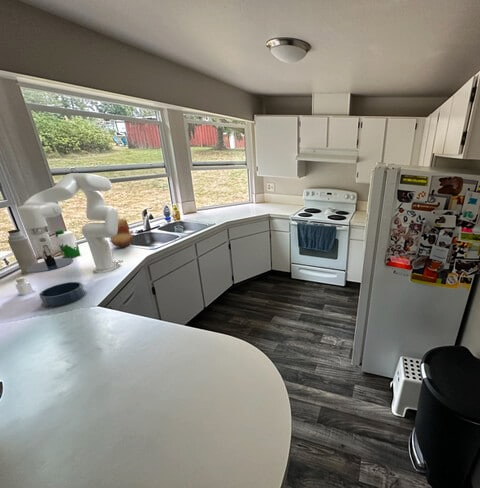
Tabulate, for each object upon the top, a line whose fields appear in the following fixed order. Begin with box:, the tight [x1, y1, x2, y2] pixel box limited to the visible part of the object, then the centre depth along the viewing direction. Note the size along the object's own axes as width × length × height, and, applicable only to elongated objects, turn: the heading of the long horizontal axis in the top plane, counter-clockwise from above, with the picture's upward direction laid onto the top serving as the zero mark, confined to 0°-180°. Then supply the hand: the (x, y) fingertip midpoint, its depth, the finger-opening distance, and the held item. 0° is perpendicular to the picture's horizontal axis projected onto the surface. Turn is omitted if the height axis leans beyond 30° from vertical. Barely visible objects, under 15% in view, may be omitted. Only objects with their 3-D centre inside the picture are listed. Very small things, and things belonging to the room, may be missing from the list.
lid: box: [27, 254, 74, 274], centre depth 128 cm, size 17×17×7 cm
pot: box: [38, 281, 86, 308], centre depth 132 cm, size 16×16×6 cm
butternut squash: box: [110, 215, 134, 248], centre depth 200 cm, size 14×13×25 cm
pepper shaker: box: [14, 276, 34, 296], centre depth 136 cm, size 4×4×10 cm
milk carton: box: [54, 229, 81, 259], centre depth 182 cm, size 9×9×20 cm
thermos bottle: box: [7, 228, 39, 275], centre depth 156 cm, size 8×8×28 cm
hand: (51, 264), depth 129 cm, fingers closed on lid, 3 cm apart
